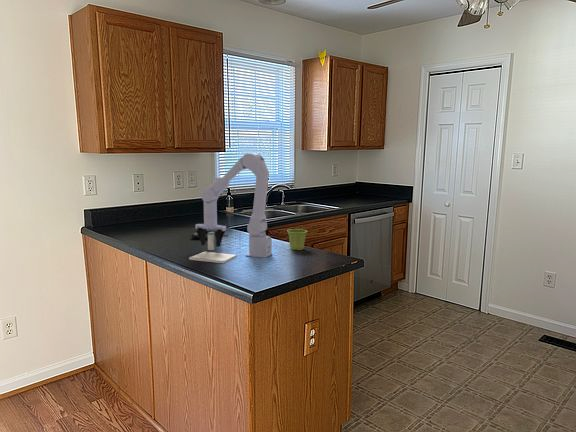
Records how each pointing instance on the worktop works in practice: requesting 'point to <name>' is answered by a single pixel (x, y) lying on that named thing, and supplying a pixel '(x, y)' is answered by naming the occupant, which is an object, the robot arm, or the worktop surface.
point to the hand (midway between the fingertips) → (210, 245)
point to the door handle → (196, 236)
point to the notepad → (213, 257)
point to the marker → (210, 241)
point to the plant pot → (297, 238)
